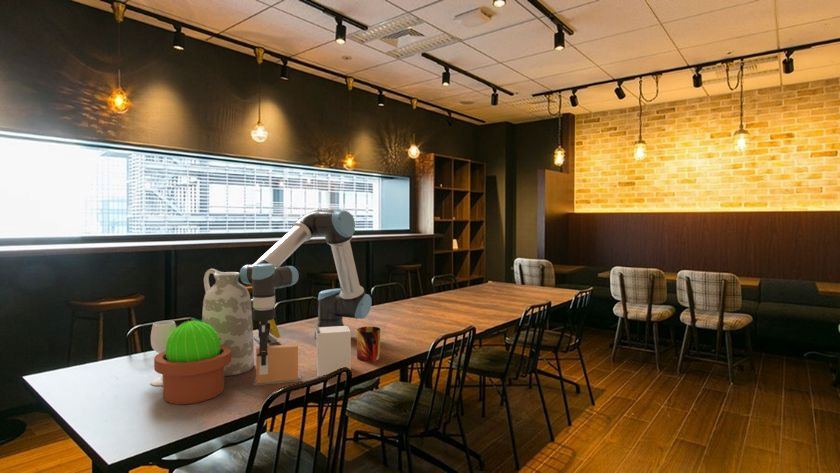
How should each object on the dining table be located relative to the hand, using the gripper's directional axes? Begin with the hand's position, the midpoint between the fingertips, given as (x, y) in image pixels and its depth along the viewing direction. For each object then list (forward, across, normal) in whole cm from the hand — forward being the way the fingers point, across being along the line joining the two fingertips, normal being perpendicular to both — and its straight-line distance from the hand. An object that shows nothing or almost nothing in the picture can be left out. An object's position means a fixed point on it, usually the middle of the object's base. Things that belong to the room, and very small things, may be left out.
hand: (264, 367), depth 159 cm
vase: (+5, -18, -15) cm, 24 cm away
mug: (+6, -15, +41) cm, 44 cm away
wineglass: (+5, -9, -34) cm, 35 cm away
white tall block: (+5, -4, +24) cm, 25 cm away
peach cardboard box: (+5, 0, +4) cm, 6 cm away
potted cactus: (+5, +6, -22) cm, 23 cm away
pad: (+5, 0, +4) cm, 7 cm away
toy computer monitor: (+6, -55, -2) cm, 56 cm away
